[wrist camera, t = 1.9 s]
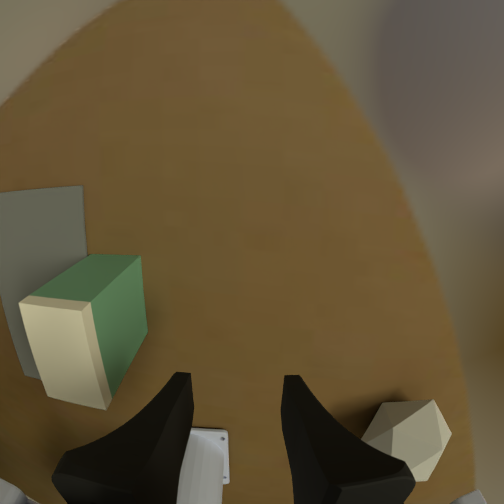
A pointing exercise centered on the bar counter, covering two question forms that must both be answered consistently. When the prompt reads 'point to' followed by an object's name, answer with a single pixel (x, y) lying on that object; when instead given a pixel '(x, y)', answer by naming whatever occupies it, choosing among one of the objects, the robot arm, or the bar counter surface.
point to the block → (87, 328)
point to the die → (410, 434)
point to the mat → (37, 250)
